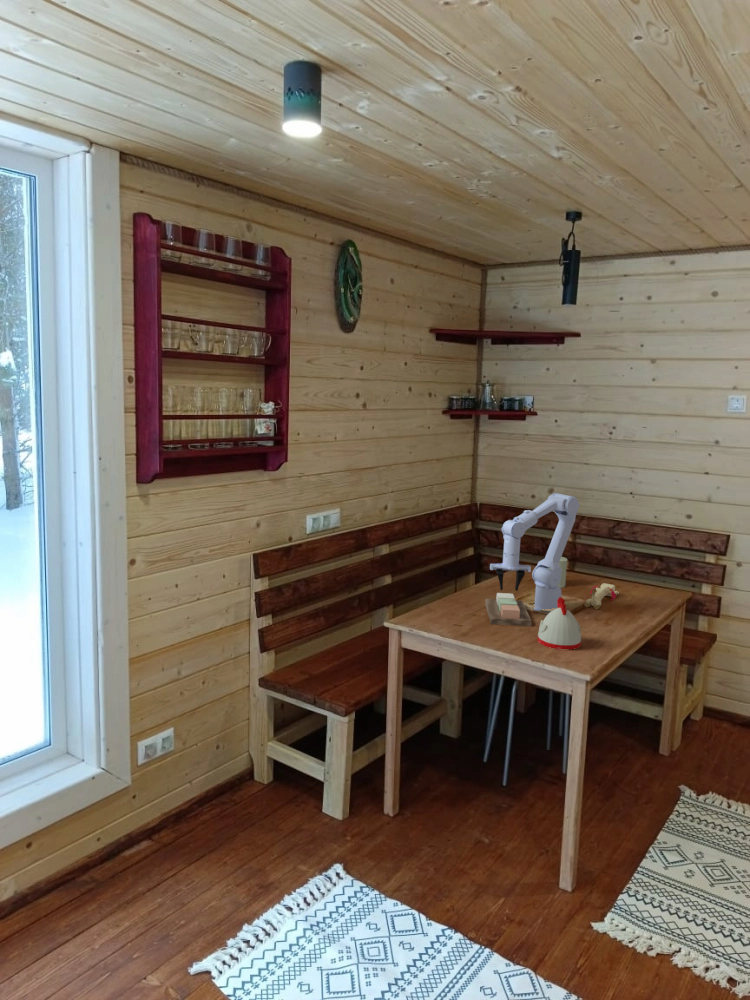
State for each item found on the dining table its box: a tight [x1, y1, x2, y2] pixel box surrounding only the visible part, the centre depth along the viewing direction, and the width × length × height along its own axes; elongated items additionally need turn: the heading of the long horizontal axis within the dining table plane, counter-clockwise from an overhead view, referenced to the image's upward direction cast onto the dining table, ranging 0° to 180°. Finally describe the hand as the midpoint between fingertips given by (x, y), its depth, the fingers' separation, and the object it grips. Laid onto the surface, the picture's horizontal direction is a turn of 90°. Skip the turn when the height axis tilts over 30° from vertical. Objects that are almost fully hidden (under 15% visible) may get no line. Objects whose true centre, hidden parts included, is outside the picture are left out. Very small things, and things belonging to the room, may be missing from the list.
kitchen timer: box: [537, 596, 582, 650], centre depth 248 cm, size 14×14×15 cm
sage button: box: [498, 599, 517, 612], centre depth 276 cm, size 6×6×4 cm
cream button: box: [495, 592, 516, 605], centre depth 283 cm, size 6×6×4 cm
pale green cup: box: [547, 556, 568, 589], centre depth 318 cm, size 9×9×12 cm
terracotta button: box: [500, 605, 520, 619], centre depth 268 cm, size 6×6×4 cm
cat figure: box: [583, 582, 620, 610], centre depth 298 cm, size 10×9×25 cm
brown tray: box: [484, 598, 532, 627], centre depth 276 cm, size 14×24×2 cm, turn 177°
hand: (508, 589), depth 275 cm, fingers open, 5 cm apart
